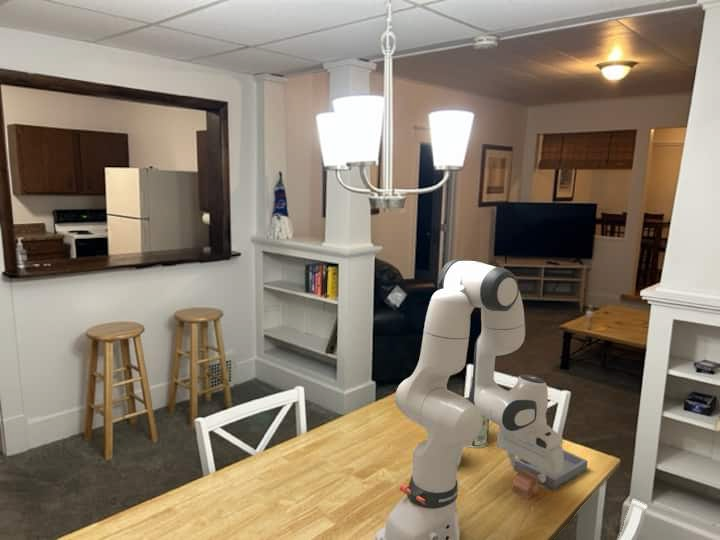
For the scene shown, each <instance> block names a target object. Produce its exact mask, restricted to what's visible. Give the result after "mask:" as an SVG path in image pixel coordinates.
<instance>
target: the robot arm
mask: <svg viewBox="0 0 720 540" xmlns="http://www.w3.org/2000/svg"><path fill="white" fill-rule="evenodd" d="M438 275H439V276H438V282H437V290H436V291H435V292H434V293H433V294H432V296H431V297H430V300H429V304H428V307H427V311H426V315H425V321H424V326H423V327H424V328H423V332H422V333H423V335H422V341H421V347H420V353H419V354H420V355H419V360H418V362H417V365H416V367H415V369H414V371H413V372H412V374H411V375H410V376H409V377H407V378H405V379H404V380H403V381H402V382H401V383H400V384H399V385H398V387H397V389H396V391H395V393H394V403H395V405H396V407H397V408H398V410H399V411H400V412H401V413H402V415H404V416H405V417H406V418H407V419H408V420H410V421H412V422H414V423H416V424H417V425H418V426H419V425H420V426H421V427H422V428H424V429H425V430H426V432H427V439H425V440H423V441H421V442H419V444H418V445H417V446H416V447H415V448H414V450H413V454H412V475H411V478H410V480H409V482H408V485H407V484H406V483H405V482H403V483H401V484H399V485H400V486H399V489H398V490H399V491H400V492H402V493H403V494H405V495H404V496H403V497H402V498H401V499H400V501H398V503H397V504H396V506H394V508H393V509H392V510H391V512H390V513H389V514H388V515H387V517H386V521H385V526H383V527H382V528H381V529H380V530H378V531H377V532H376V533H375V540H461V539H460V538H461V529H460V525H459V517H458V508H457V507H458V506H457V498H458V492H459V490H458V486H459V485H458V480H457V471H458V467H457V462H458V456H459V453H460V451H461V449H462V448H463V449H464V447H466V446H465V445H468V444H470V443H472V442H473V441H474V440H476V439H477V437H478V436H479V434H480V432H481V430H482V426H483V417H485V418H487V419H489V422H492V423H494V424H496V425H498V427H499V428H498V432H497V437H496V438H497V440H496V444H497V447H498V448H499V449H501V450H503V451H505V452H506V453H507V457H508V460H509V462H510V463H509V465H510V467H512V468H513V469H514V468H516V467H517V466H518V464H517V463H518V461H517V460H516V459H517V458H521V459H523V460H525V461H527V462H529V463H531V464H533V465H535V466H537V467H539V468H541V469H542V472H543V473H541V474H539V475H538V480H539V481H540V482H542V483H543V482H545V481H546V475H547V474H548V473H551V474H553V475H556V474H558V473H559V472H561V471H562V470H563V464H564V456H563V450H564V449H563V447H562V446H561V444H562V443H563V437H562V436H561V434H559V433H558V432H556V431H555V430H554V429H553V428H551V426H550V425H549V424H547V417H546V415H547V411H548V404H549V403H548V401H549V400H548V399H549V396H548V394H549V392H548V386H547V383H546V380H544V379H542V378H540V377H538V376H536V375H531V374H521V375H519V376H518V377H517V381H516V384H515V385H514V386H513V387H512V388H511V389H509V390H506V389H504V388H503V387H501V386H499V384H497V382H496V381H495V377H494V376H495V366H496V365H495V364H496V356H504V355H508V354H511V353H514V352H515V351H517V350H518V349H520V348H521V346H522V344H523V343H524V341H525V337H526V323H525V322H526V321H525V311H524V304H523V299H522V295H521V291H520V287H519V282H518V278H517V277H516V276H515V274H514V273H513V272H511V271H510V270H508V269H505V268H504V267H501V266H500V267H497V266H494V265H491V264H486V263H484V262H481V261H474V260H466V259H454V260H453V259H452V260H450V261H448V262H446V263H445V264H444V266H443V267H442V269H441V270H440V272H439V274H438ZM475 308H479V309H480V313H481V314H480V315H481V316H480V319H481V332H480V334H479V335H478V336H477V338H476V341H475V344H474V352H473V367H472V381H471V387H470V391H469V396H468V397H469V400H467V399H466V398H467V397H464V396H462V395H459V393H455V392H453V391H451V390H449V389H448V387H447V385H448V382H449V379H450V377H451V376H454V375H456V374H458V373H460V372H461V371H462V370H463V369H464V368H465V366H466V361H467V353H468V348H469V341H470V339H469V338H470V331H471V329H470V328H471V314H472V312H473V311H474V309H475ZM482 416H483V417H482ZM516 457H517V458H516Z"/></svg>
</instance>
